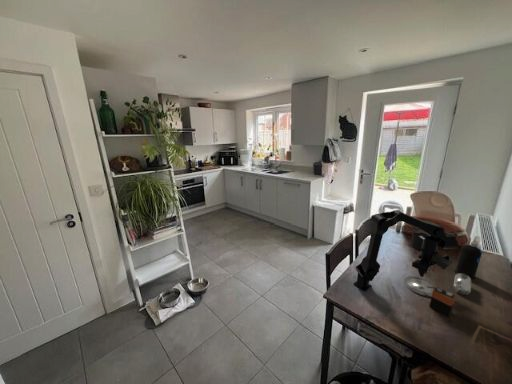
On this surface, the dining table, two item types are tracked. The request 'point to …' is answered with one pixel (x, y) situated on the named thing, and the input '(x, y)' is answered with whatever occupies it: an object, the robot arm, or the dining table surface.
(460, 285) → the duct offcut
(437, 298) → the battery
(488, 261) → the dining table surface
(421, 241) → the pen holder
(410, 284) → the flange plate
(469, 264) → the aerosol can
